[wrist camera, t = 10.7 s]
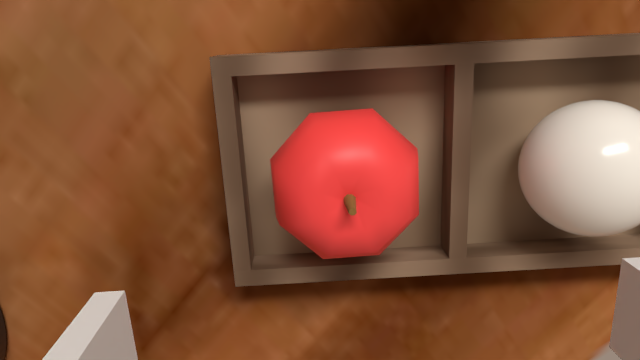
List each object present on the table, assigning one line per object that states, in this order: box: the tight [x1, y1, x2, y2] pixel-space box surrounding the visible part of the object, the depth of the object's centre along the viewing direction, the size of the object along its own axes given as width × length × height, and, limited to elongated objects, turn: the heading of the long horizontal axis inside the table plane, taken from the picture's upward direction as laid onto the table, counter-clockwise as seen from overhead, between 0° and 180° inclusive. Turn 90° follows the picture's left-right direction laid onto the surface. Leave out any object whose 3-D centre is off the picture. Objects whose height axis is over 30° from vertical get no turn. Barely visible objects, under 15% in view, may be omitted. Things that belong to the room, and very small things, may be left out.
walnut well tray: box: [210, 33, 640, 287], centre depth 28 cm, size 26×13×2 cm, turn 93°
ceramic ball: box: [518, 100, 640, 237], centre depth 25 cm, size 7×7×7 cm
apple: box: [270, 108, 419, 259], centre depth 25 cm, size 8×8×8 cm
